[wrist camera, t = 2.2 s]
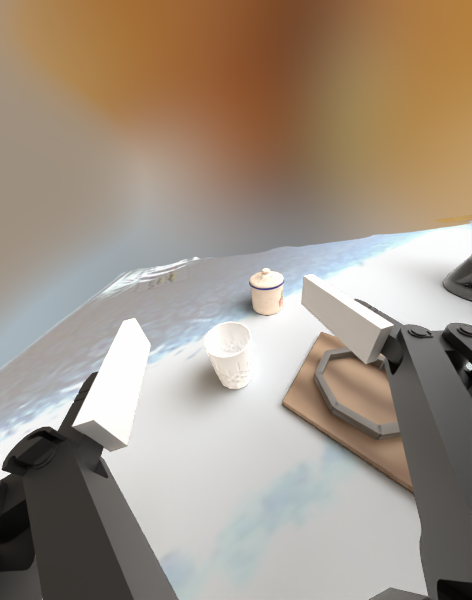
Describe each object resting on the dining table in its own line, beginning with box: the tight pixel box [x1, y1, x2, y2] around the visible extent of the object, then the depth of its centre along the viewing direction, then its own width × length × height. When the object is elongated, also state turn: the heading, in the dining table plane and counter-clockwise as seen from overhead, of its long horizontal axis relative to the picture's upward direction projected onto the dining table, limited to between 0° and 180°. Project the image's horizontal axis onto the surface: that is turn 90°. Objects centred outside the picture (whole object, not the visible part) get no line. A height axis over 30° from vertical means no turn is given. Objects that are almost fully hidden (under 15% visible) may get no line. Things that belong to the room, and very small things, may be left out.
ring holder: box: [283, 332, 414, 493], centre depth 27 cm, size 18×18×3 cm
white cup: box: [204, 322, 253, 389], centre depth 31 cm, size 8×8×10 cm
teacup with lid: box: [249, 268, 284, 315], centre depth 48 cm, size 12×9×12 cm
